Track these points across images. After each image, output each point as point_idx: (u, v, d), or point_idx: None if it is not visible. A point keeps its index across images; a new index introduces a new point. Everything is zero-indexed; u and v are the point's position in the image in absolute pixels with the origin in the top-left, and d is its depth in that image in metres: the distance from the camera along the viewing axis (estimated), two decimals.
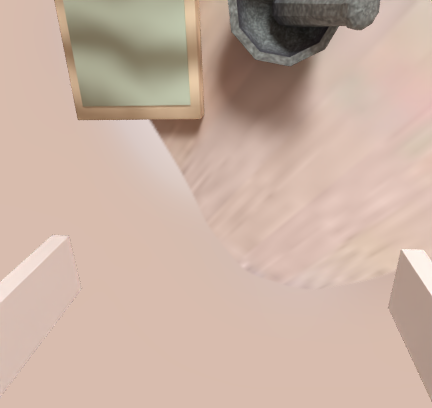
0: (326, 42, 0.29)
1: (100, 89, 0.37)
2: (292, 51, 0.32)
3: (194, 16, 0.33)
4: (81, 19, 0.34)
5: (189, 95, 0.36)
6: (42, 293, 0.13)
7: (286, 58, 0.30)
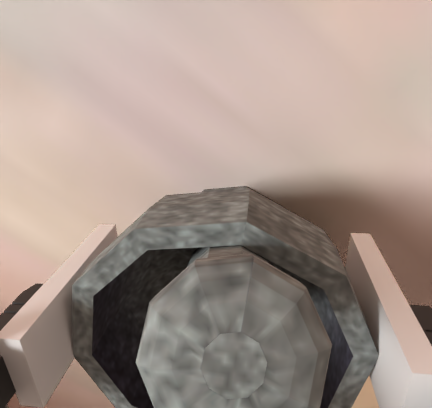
0: (326, 272, 0.09)
1: None
2: None
3: None
4: None
5: None
6: None
7: (354, 362, 0.10)
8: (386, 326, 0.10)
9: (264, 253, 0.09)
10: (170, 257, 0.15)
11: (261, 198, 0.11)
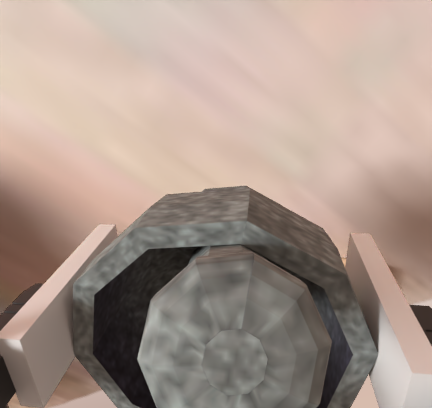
0: (326, 271, 0.09)
1: None
2: None
3: None
4: None
5: None
6: None
7: (354, 361, 0.10)
8: (386, 326, 0.10)
9: (264, 252, 0.09)
10: (170, 256, 0.15)
11: (261, 197, 0.11)
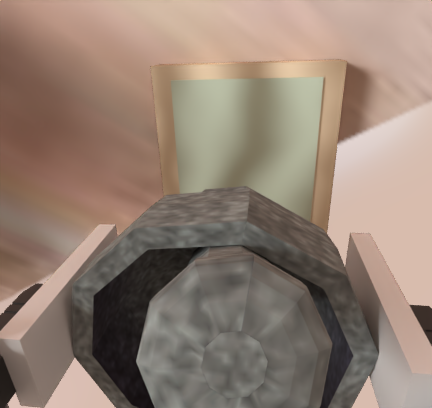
0: (327, 272, 0.09)
1: (290, 202, 0.29)
2: None
3: (208, 66, 0.25)
4: None
5: (309, 77, 0.24)
6: None
7: (355, 362, 0.10)
8: (386, 326, 0.10)
9: (264, 253, 0.09)
10: (170, 257, 0.15)
11: (261, 198, 0.11)
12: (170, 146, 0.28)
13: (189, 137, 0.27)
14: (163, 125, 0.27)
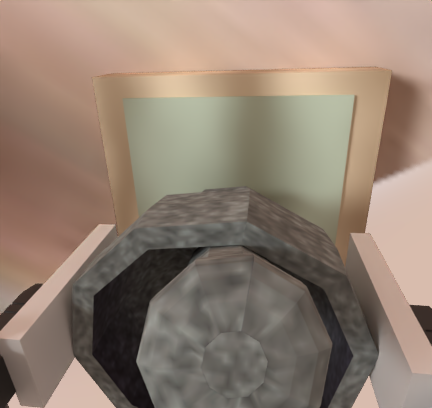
0: (326, 272, 0.09)
1: None
2: None
3: (177, 77, 0.17)
4: None
5: (333, 95, 0.16)
6: None
7: (355, 362, 0.10)
8: (386, 326, 0.10)
9: (264, 253, 0.09)
10: (170, 257, 0.15)
11: (261, 198, 0.11)
12: (128, 191, 0.19)
13: (154, 179, 0.19)
14: (116, 162, 0.19)
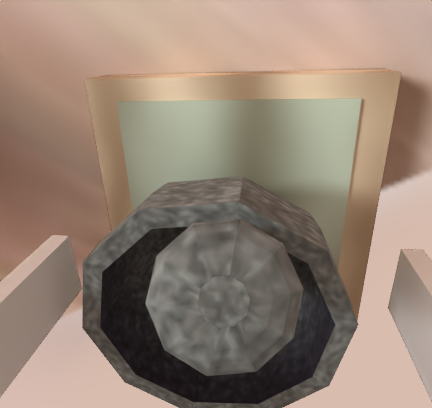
0: (310, 247, 0.10)
1: None
2: None
3: (174, 79, 0.16)
4: None
5: (338, 98, 0.15)
6: (42, 293, 0.13)
7: (336, 331, 0.12)
8: None
9: None
10: (171, 242, 0.16)
11: (253, 184, 0.12)
12: (123, 198, 0.19)
13: (150, 186, 0.18)
14: (110, 168, 0.18)
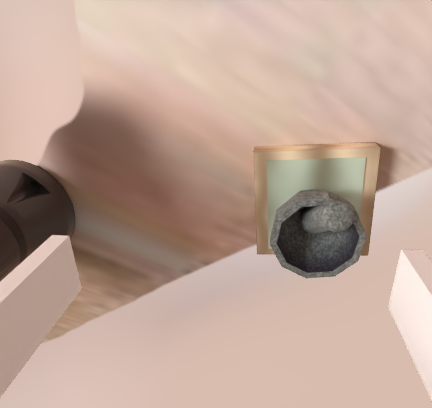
0: None
1: None
2: None
3: (291, 151, 0.40)
4: None
5: (356, 157, 0.39)
6: (42, 293, 0.13)
7: (360, 239, 0.36)
8: None
9: None
10: (290, 216, 0.41)
11: (329, 192, 0.37)
12: (263, 199, 0.43)
13: (277, 194, 0.42)
14: (259, 187, 0.42)
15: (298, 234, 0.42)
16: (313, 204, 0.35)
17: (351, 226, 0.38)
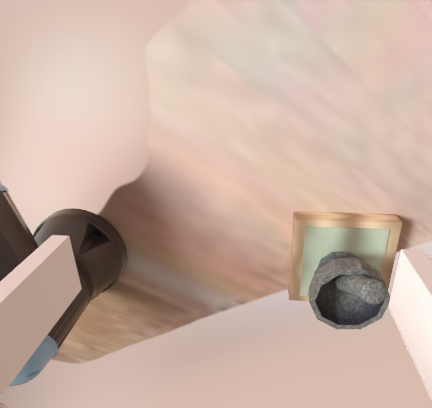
0: (379, 280, 0.42)
1: None
2: None
3: (327, 221, 0.48)
4: None
5: (382, 229, 0.47)
6: (42, 293, 0.13)
7: (385, 301, 0.43)
8: None
9: (366, 276, 0.42)
10: None
11: (360, 261, 0.44)
12: (299, 256, 0.50)
13: (311, 253, 0.50)
14: (297, 246, 0.50)
15: (329, 288, 0.49)
16: (349, 273, 0.42)
17: None
